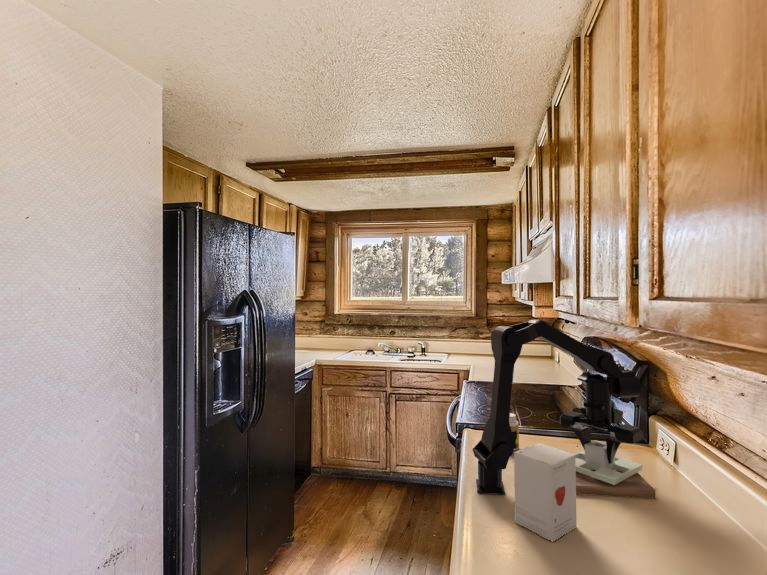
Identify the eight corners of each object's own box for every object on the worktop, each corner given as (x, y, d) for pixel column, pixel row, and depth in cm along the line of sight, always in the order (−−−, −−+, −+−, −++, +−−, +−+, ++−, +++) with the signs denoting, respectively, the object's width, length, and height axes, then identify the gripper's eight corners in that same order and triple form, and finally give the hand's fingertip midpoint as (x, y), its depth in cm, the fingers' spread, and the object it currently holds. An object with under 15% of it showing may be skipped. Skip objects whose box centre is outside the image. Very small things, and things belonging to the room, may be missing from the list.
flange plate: (642, 469, 104) (641, 446, 104) (614, 485, 96) (613, 460, 96) (587, 452, 115) (587, 432, 116) (558, 465, 107) (558, 443, 108)
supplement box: (553, 544, 79) (551, 465, 79) (513, 523, 86) (512, 451, 86) (578, 527, 84) (576, 453, 84) (539, 509, 92) (537, 441, 92)
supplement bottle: (501, 450, 126) (500, 417, 126) (499, 444, 131) (498, 411, 131) (520, 451, 125) (520, 417, 125) (517, 444, 130) (516, 412, 130)
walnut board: (655, 498, 95) (654, 468, 95) (572, 493, 98) (571, 463, 98) (624, 466, 113) (623, 440, 113) (554, 462, 116) (554, 437, 116)
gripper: (652, 400, 103) (654, 464, 103) (580, 387, 118) (581, 442, 118) (631, 408, 97) (632, 475, 96) (557, 393, 112) (559, 451, 112)
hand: (599, 459), depth 106 cm, fingers closed on flange plate, 5 cm apart
